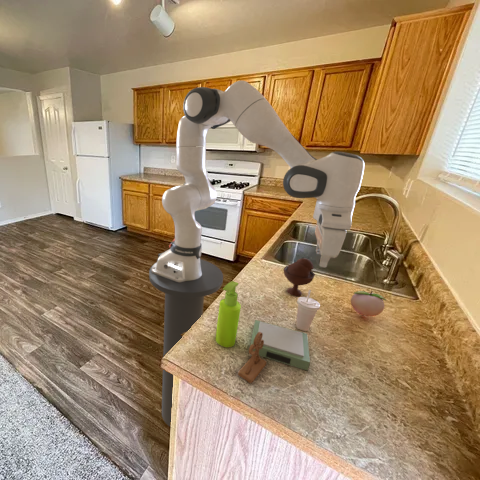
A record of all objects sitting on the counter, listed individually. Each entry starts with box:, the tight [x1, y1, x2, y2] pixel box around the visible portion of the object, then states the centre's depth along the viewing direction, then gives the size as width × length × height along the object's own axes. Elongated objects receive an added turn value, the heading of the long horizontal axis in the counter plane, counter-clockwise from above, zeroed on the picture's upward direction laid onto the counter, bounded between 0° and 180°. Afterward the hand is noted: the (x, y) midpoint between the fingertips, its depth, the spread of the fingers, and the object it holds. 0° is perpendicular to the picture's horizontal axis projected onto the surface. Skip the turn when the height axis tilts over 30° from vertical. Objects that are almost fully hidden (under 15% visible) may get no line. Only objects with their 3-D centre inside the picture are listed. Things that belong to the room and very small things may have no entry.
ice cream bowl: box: [283, 257, 316, 297], centre depth 103 cm, size 11×11×15 cm
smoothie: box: [295, 289, 321, 332], centre depth 84 cm, size 6×6×14 cm
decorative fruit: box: [350, 290, 387, 317], centre depth 91 cm, size 9×8×10 cm
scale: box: [249, 319, 311, 372], centre depth 77 cm, size 15×12×4 cm
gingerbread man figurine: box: [237, 332, 268, 384], centre depth 68 cm, size 9×4×12 cm, turn 135°
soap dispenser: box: [215, 280, 242, 348], centre depth 76 cm, size 6×7×20 cm
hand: (320, 259), depth 78 cm, fingers open, 8 cm apart
